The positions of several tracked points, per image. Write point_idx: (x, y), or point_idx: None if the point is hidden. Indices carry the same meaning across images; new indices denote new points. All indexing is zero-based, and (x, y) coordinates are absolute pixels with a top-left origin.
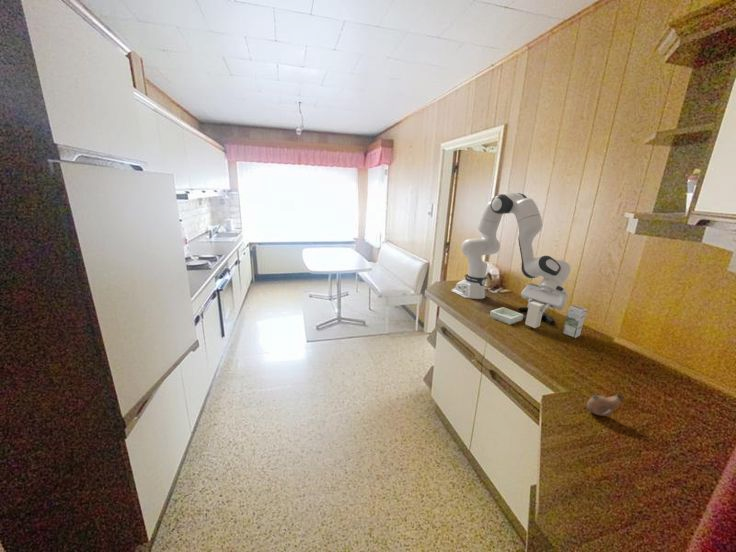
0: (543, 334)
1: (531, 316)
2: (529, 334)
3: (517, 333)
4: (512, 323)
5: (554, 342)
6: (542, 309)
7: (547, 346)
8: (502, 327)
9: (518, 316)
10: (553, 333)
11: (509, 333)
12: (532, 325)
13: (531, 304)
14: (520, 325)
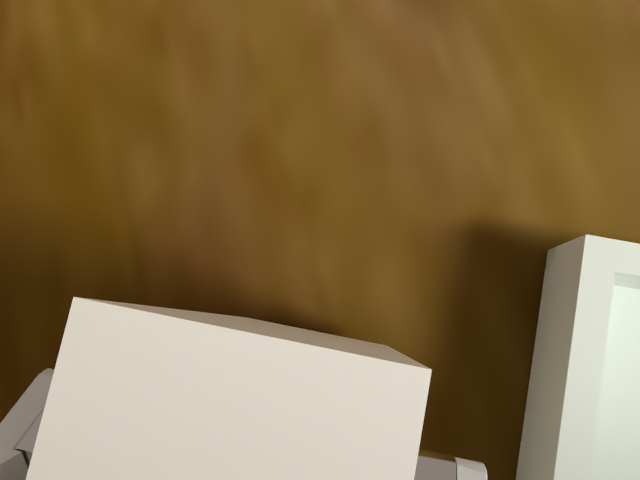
0: (142, 301)
1: (306, 332)
2: (266, 164)
3: (377, 78)
4: (541, 316)
5: (7, 176)
6: None
7: (48, 21)
8: (576, 100)
9: (551, 473)
10: None
11: (443, 5)
12: (279, 324)
13: (346, 350)
14: (441, 357)
